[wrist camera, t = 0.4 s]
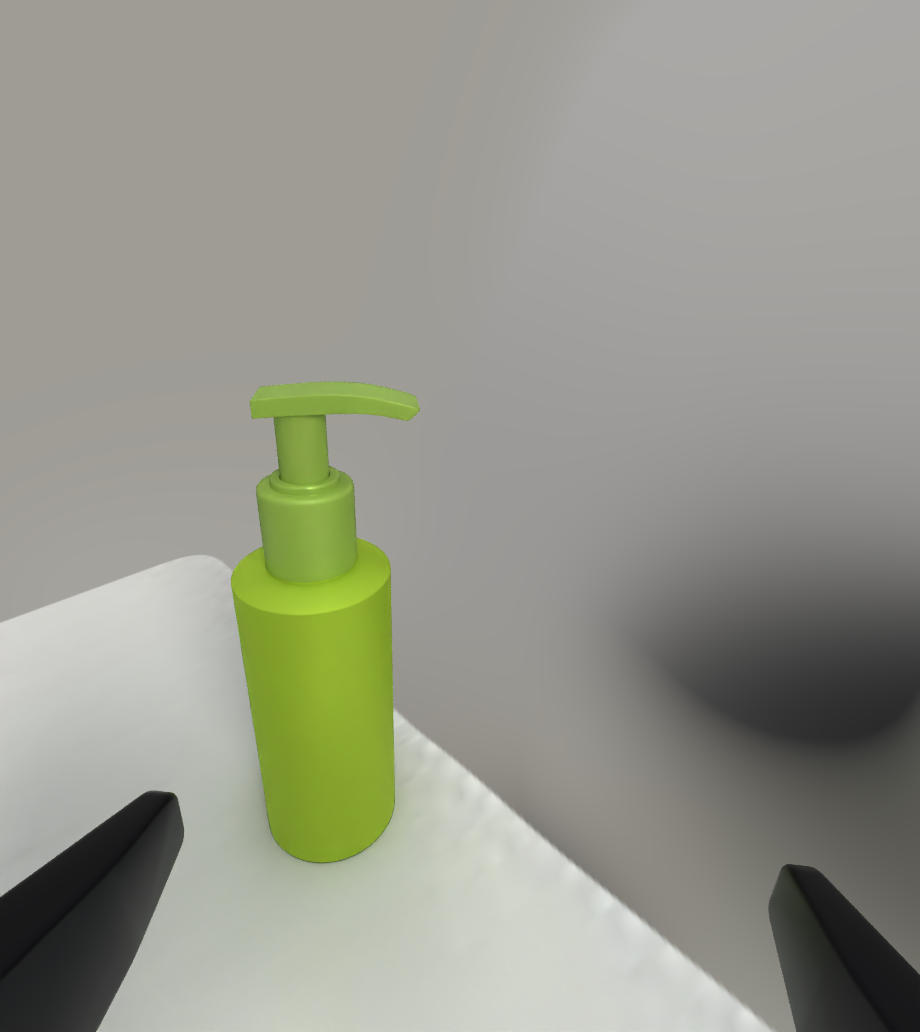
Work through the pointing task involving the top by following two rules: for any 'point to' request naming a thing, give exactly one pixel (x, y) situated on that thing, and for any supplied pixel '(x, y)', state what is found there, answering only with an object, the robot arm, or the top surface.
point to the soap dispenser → (319, 632)
